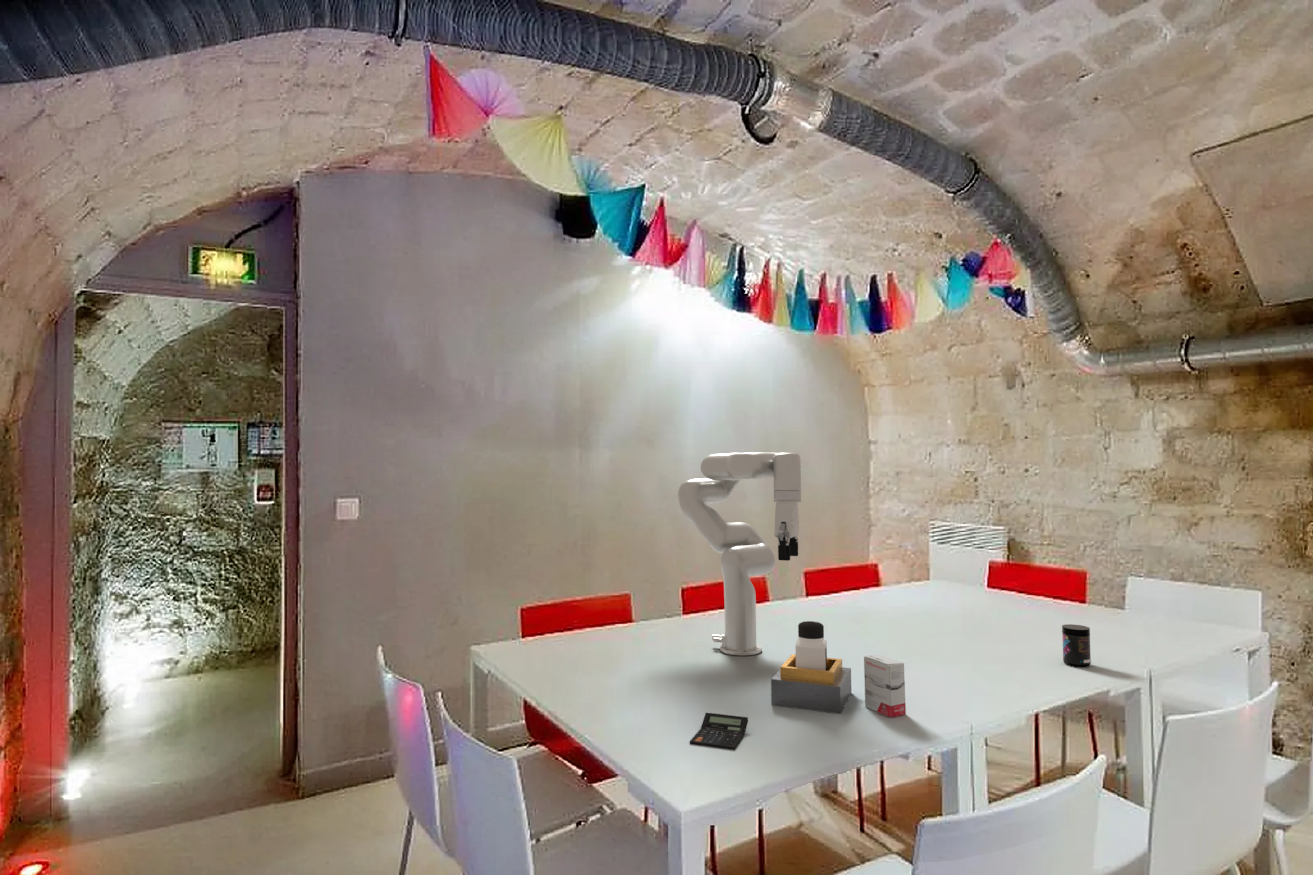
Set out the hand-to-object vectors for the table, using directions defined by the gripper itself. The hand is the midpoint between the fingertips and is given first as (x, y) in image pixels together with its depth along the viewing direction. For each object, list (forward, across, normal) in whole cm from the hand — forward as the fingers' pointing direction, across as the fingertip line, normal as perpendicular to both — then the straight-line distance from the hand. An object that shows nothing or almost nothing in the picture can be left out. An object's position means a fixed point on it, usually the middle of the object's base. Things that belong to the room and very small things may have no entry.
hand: (788, 558), depth 200 cm
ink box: (+31, +26, +28) cm, 49 cm away
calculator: (+31, +55, -2) cm, 63 cm away
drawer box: (+30, +23, +11) cm, 39 cm away
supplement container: (+31, -32, +73) cm, 85 cm away
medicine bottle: (+24, +24, +11) cm, 36 cm away
